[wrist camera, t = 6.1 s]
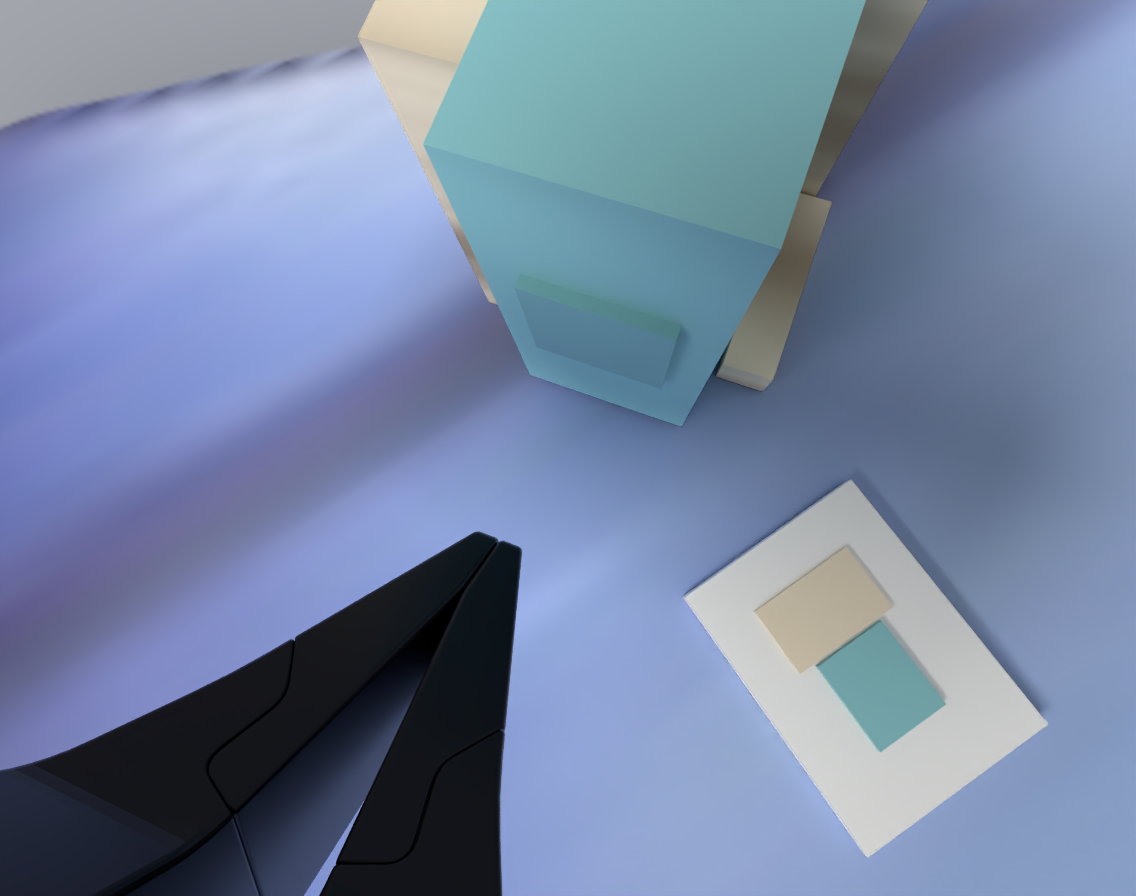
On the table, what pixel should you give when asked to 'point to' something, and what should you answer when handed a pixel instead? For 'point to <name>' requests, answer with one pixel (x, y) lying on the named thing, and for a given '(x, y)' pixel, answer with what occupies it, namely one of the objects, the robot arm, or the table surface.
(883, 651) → the card
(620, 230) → the teal block
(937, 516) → the table surface
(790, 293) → the maple dock
